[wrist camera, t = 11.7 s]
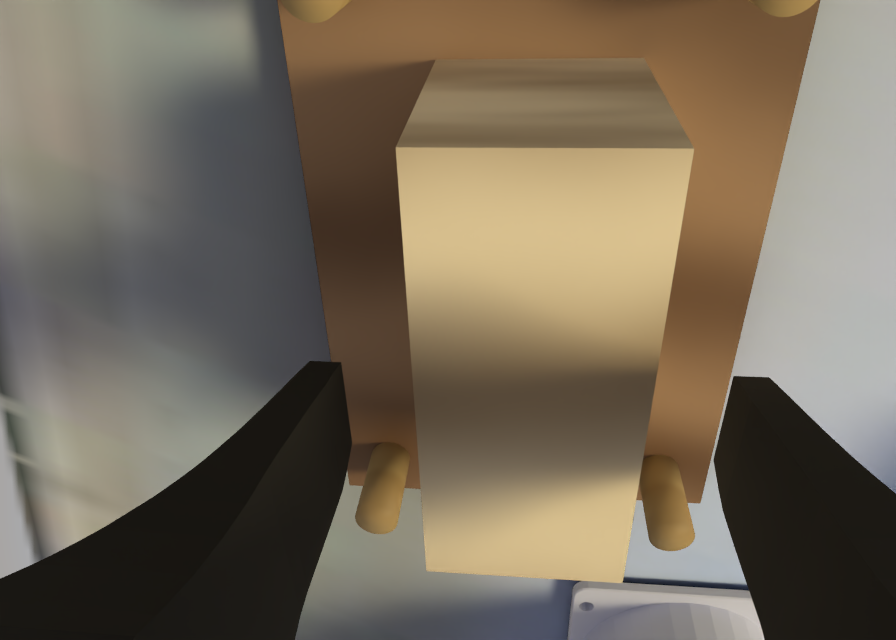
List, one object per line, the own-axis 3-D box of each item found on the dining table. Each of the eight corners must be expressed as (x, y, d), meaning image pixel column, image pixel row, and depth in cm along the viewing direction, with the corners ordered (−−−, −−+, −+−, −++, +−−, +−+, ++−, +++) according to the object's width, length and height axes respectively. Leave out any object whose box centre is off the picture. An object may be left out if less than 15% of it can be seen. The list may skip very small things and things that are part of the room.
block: (601, 419, 20) (622, 583, 16) (449, 413, 21) (427, 571, 16) (644, 57, 15) (694, 148, 10) (435, 59, 15) (395, 147, 11)
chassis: (695, 484, 22) (718, 571, 20) (354, 467, 24) (331, 548, 21) (834, -128, 13) (911, -122, 11) (273, -110, 15) (214, -101, 12)
